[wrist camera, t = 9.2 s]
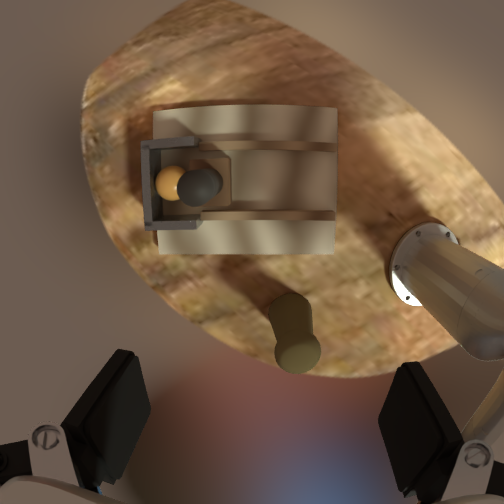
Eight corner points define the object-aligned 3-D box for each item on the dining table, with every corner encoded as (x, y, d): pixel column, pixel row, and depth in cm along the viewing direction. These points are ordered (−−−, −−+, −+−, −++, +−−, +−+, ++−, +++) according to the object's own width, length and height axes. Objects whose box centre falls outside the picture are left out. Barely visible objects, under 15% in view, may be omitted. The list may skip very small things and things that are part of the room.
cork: (261, 302, 40) (262, 350, 29) (303, 286, 39) (318, 330, 28) (277, 336, 41) (282, 388, 31) (317, 322, 41) (333, 370, 30)
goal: (201, 139, 32) (193, 136, 28) (203, 222, 35) (196, 229, 31) (153, 142, 32) (140, 140, 29) (156, 223, 35) (145, 230, 31)
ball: (149, 167, 31) (179, 165, 34) (150, 201, 33) (180, 197, 35) (164, 166, 29) (196, 164, 31) (165, 203, 30) (197, 199, 32)
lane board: (334, 110, 32) (340, 105, 29) (331, 250, 37) (336, 257, 35) (157, 113, 33) (148, 109, 30) (162, 250, 38) (155, 257, 35)
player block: (231, 158, 33) (218, 156, 22) (231, 201, 34) (220, 218, 24) (197, 160, 33) (169, 159, 22) (198, 202, 34) (172, 219, 24)
